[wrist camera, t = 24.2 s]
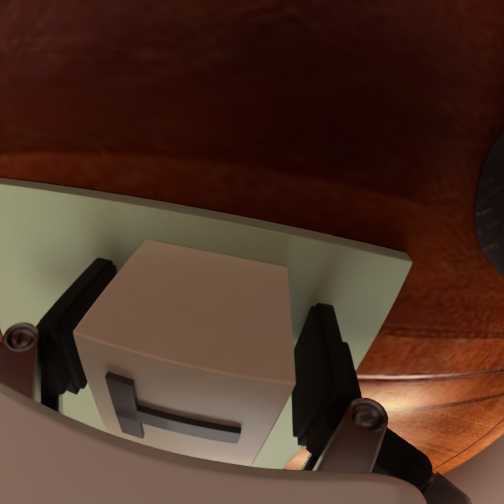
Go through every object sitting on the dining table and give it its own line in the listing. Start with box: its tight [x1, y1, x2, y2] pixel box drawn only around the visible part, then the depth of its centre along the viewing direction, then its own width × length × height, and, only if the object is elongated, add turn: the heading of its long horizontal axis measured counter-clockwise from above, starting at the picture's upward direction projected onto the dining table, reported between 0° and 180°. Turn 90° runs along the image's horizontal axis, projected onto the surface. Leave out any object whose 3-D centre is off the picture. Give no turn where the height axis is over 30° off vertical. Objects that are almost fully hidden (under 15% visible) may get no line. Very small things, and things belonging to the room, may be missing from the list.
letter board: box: [0, 178, 413, 469], centre depth 15 cm, size 22×21×1 cm
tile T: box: [73, 239, 296, 466], centre depth 9 cm, size 5×5×5 cm
